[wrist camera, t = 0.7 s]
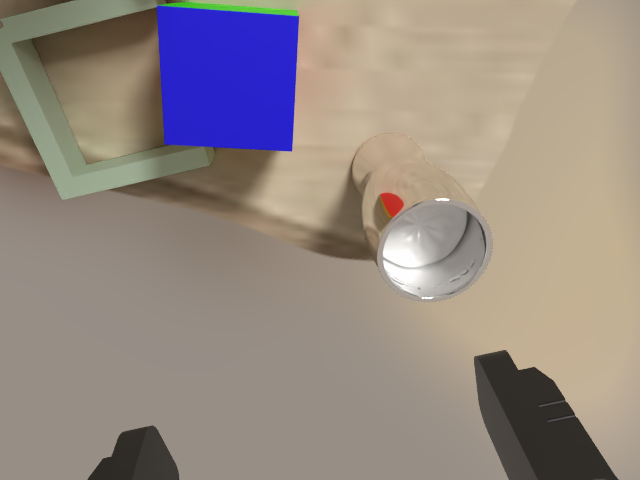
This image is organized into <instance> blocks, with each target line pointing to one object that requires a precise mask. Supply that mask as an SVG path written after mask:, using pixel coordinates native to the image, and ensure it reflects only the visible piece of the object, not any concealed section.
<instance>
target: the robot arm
mask: <svg viewBox="0 0 640 480" xmlns="http://www.w3.org/2000/svg"><path fill="white" fill-rule="evenodd" d="M474 365H475V373H476V382H477V391H478V400H479V406H480V410H481V414H482V417H483V420H484V423H485V426H486V428H487V431H488V433H489V435H490V438H491V440H492V442H493V444H494V447H495V449H496V451H497V453H498V456H499V458H500V460H501V463H502V465H503V467H504V469H505V472H506V474H507V476H508V478H509V480H618V479H617V477H616V476H615V475H614V473H613V472H612V470H611V469H610V467H609V466H608V464H607V463H606V461H605V459H604V458H603V456H602V455H601V453H600V452H599V450H598V449H597V447H596V446H595V444H594V443H593V441H592V439H591V438H590V436H589V435H588V434H587V432H586V430H585V429H584V427H583V426H582V424H581V422H580V421H579V419H578V418H576V416H575V413H574V412H573V410H572V409H571V407H570V406H569V404H568V403H566V401H565V398H564V396H563V395H562V393H561V392H560V390H559V389H558V387H557V386H556V384H555V382H554V381H553V380H552V379H550V378H549V377H547V376H546V375H545V374H543V373H542V372H541V371H539V370H538V369H536V368H535V367H532V368H528V369H523V370H518V369H517V367H516V365H515V364H514V362H513V360H512V359H511V357H510V355H509V354H508V352H507V351H506V350H503V351H498V352H494V353H489V354H484V355H479V356H475V357H474ZM88 480H179V473H178V469H177V466H176V464H175V462H174V460H173V458H172V456H171V455H170V452H169V451H168V449H167V447H166V445H165V443H164V441H163V439H162V437H161V436H160V434H159V432H158V430H157V429H156V427H154V426H148V427H143V428H138V429H134V430H129V431H125V432H122V433H121V434H120V436H119V438H118V440H117V443H116V445H115V448H114V451H113V454H112V457H108V458H104V459H102V461H101V462H100V463H99V465H98V466H97V467H96V469H95V470H94V472H93V473H92V474H91V475H90V477H89V478H88Z"/></svg>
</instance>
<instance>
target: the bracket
mask: <svg viewBox="0 0 640 480" xmlns="http://www.w3.org/2000/svg"><path fill="white" fill-rule="evenodd" d="M163 4H167V3H166V0H74V1H70V2H66V3H62V4H58V5H54V6H50V7H46V8H42V9H38V10H34V11H30V12H26V13H22V14H18V15H14V16H10V17H6V18H2V19H0V20H1V22H2V24H3V28H0V72H1V74H2V76H3V78H4V80H5V82H6V84H7V86H8V88H9V90H10V92H11V95H12V97H13V99H14V101H15V103H16V105H17V107H18V109H19V111H20V113H21V115H22V118H23V120H24V122H25V124H26V126H27V128H28V130H29V132H30V134H31V136H32V138H33V140H34V143H35V145H36V147H37V149H38V151H39V153H40V155H41V157H42V159H43V161H44V163H45V166H46V168H47V170H48V172H49V174H50V176H51V178H52V180H53V182H54V184H55V186H56V188H57V191H58V193H59V194H60V197H61V199H62V200H65V199H69V198H74V197H78V196H82V195H87V194H91V193H95V192H100V191H104V190H108V189H112V188H117V187H121V186H125V185H129V184H134V183H138V182H142V181H146V180H151V179H155V178H159V177H163V176H168V175H172V174H176V173H181V172H185V171H189V170H193V169H198V168H202V167H206V166H210V165H211V163H212V160H213V158H214V155H215V152H214V149H213V147H202V146H183V145H168V146H163V147H159V148H155V149H151V150H147V151H142V152H138V153H134V154H130V155H126V156H121V157H117V158H113V159H109V160H104V161H100V162H96V163H92V164H88V165H87V164H86V162H85V160H84V157H83V155H82V153H81V151H80V148H79V146H78V144H77V141H76V139H75V137H74V135H73V132H72V130H71V128H70V126H69V123H68V121H67V119H66V117H65V114H64V112H63V110H62V108H61V105H60V103H59V101H58V98H57V96H56V94H55V92H54V89H53V87H52V85H51V83H50V80H49V78H48V76H47V74H46V71H45V69H44V67H43V64H42V62H41V60H40V58H39V55H38V53H37V51H36V49H35V46H34V44H33V42H32V40H31V39H34V38H38V37H42V36H46V35H50V34H54V33H58V32H62V31H66V30H70V29H74V28H78V27H82V26H86V25H90V24H94V23H98V22H102V21H106V20H110V19H114V18H118V17H122V16H126V15H130V14H134V13H138V12H142V11H146V10H150V9H154V8H157V5H163Z"/></svg>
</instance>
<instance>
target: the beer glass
mask: <svg viewBox="0 0 640 480" xmlns="http://www.w3.org/2000/svg"><path fill="white" fill-rule="evenodd" d="M352 178H353V182H354V185H355V187H356V189H357V190H358V192H359V193H360V194H361V195H362V207H361V215H362V227H363V231H364V235H365V239H366V242H367V245H368V247H369V250H370V252H371V255H372V257H373V259H374V261H375V263H376V265H377V266H378V268H379V271H380V274H381V276H382V278H383V280H384V281H385V283H386V284H387V285H388V286H389V287H390V288H391V289H392V290H393V291H394V292H396V293H397V294H399V295H401V296H403V297H405V298H408V299H410V300H414V301H419V302H437V301H442V300H446V299H449V298H452V297H454V296H457V295H458V294H460V293H462V292H464V291H465V290H467V289H468V288H470V287H471V286H472V285H473V284H474V283H475V282H476V281H477V280H478V279H479V278H480V276H481V275H482V274H483V273H484V271H485V269H486V268H487V266H488V263H489V261H490V258H491V254H492V247H493V246H492V245H493V240H492V234H491V230H490V227H489V225H488V223H487V221H486V220H485V218H484V217H483V216H482V215H481V213H480V211H479V210H478V208H477V206H476V205H475V203H474V201H473V200H472V198H471V197H470V196H469V194H468V193H467V192H466V190H465V189H464V188H463V187H462V185H461V184H460V183H459V182H458V181H456V180H455V179H454V178H453V177H452V176H451V175H450V174H449V173H447V172H446V171H444V170H443V169H441V168H440V167H438V166H436V165H434V164H432V163H430V162H428V161H426V160H425V156H424V154H423V151H422V149H421V148H420V146H419V145H418V144H417V143H416V142H415V141H414V140H413V139H411V138H410V137H408V136H406V135H403V134H399V133H384V134H380V135H377V136H375V137H373V138H371V139H369V140H368V141H367V142H365V143H364V144H363V145H362V146H361V148H360V149H359V150H358V152H357V153H356V155H355V158H354V161H353V165H352Z"/></svg>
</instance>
